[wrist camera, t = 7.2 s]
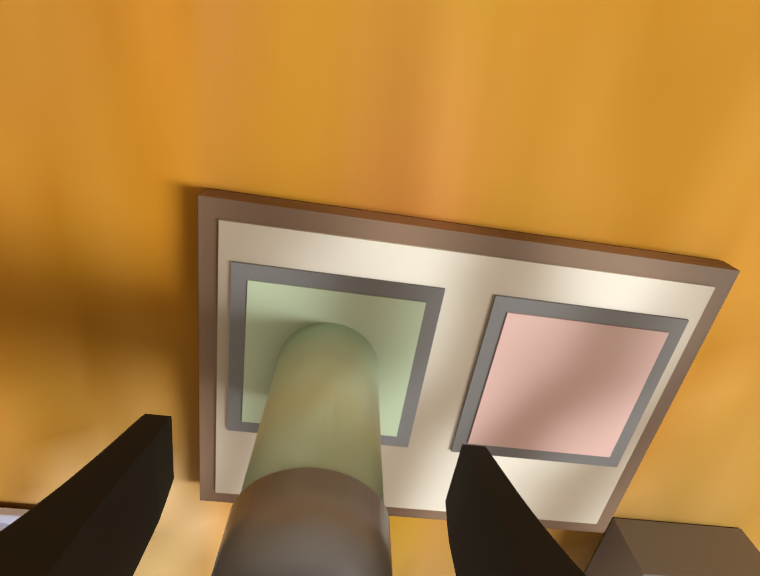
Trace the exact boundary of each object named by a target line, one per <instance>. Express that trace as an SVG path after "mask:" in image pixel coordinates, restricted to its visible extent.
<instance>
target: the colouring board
mask: <svg viewBox="0 0 760 576" xmlns="http://www.w3.org/2000/svg"><path fill="white" fill-rule="evenodd" d="M739 272H740V271H739V270H737V269H736V268H734V267H732V266H731V265H729V264H727V263H725V262H724V261H719V260H712V259H705V258H698V257H691V256H684V255H676V254H669V253H662V252H655V251H648V250H641V249H634V248H627V247H620V246H613V245H606V244H599V243H591V242H584V241H577V240H570V239H563V238H556V237H549V236H542V235H535V234H528V233H521V232H513V231H506V230H499V229H492V228H485V227H478V226H471V225H464V224H457V223H450V222H443V221H436V220H428V219H421V218H414V217H407V216H400V215H393V214H386V213H379V212H372V211H365V210H358V209H350V208H343V207H336V206H329V205H322V204H315V203H308V202H301V201H294V200H287V199H280V198H273V197H265V196H258V195H251V194H244V193H237V192H230V191H223V190H216V189H209V188H206V189H205V190H204V191H202V192H201V193H200V194H199V195H198V283H199V427H200V500H205V501H217V502H229V503H234V502H235V500H236V498H237V497H238V496H239V494H240V493H241V489H242V486H243V482H244V479H245V475H246V472H247V468H248V465H249V461H250V458H251V454H252V450H253V447H254V443H255V440H256V436H257V433H258V429H259V426H260V422H261V419H262V415H263V412H264V408H265V404H266V401H267V397H268V394H269V390H270V387H271V383H272V380H273V376H274V373H275V369H276V365H277V362H278V358H279V355H280V352H281V349H282V347H283V345H284V344H285V342H286V341H287V340H288V339H289V337H290V336H292V335H293V334H294V333H295V332H297V331H298V330H300V329H302V328H304V327H307V326H310V325H313V324H318V323H335V324H341V325H344V326H347V327H350V328H352V329H354V330H356V331H357V332H359V333H360V334H361V335H363V336H364V337H365V338H366V339H367V340H368V341H369V343H370V344H371V345H372V347H373V349H374V351H375V354H376V357H377V367H378V388H379V410H380V431H381V452H382V474H383V495H384V505H385V507H386V509H387V512H388V515H389V516H401V517H413V518H426V519H438V520H447V516H446V504H445V500H446V497H447V494H448V490H449V487H450V483H451V480H452V477H453V473H454V470H455V467H456V463H457V460H458V457H459V453H460V450H461V447H462V444H466V445H477V446H486V448H487V449H488V451H489V452H490V453H491V455H492V456H493V458H494V459H495V460H496V462H497V463H498V465H499V466H500V468H501V469H502V470H503V472H504V473H505V475H506V476H507V478H508V479H509V480H510V482H511V483H512V485H513V486H514V487H515V489H516V490H517V492H518V493H519V494H520V496H521V497H522V498H523V500H524V501H525V502H526V504H527V505H528V506H529V508H530V509H531V510H532V512H533V513H534V514H535V516H536V517H537V518H538V520H539V521H540V522H541V524H542V525H543V526H544V527H545V528H548V529H561V530H573V531H585V532H598V533H604V532H605V530H606V528H607V527H608V525H609V523H610V521H611V519H612V517H613V515H614V513H615V511H616V509H617V507H618V505H619V503H620V502H621V500H622V498H623V496H624V494H625V492H626V490H627V488H628V486H629V484H630V482H631V480H632V478H633V476H634V475H635V473H636V471H637V469H638V467H639V465H640V463H641V461H642V459H643V457H644V455H645V453H646V451H647V449H648V448H649V446H650V444H651V442H652V440H653V438H654V436H655V434H656V432H657V430H658V428H659V426H660V424H661V422H662V421H663V419H664V417H665V415H666V413H667V411H668V409H669V407H670V405H671V403H672V401H673V399H674V397H675V395H676V394H677V392H678V390H679V388H680V386H681V384H682V382H683V380H684V378H685V376H686V374H687V372H688V370H689V368H690V367H691V365H692V363H693V361H694V359H695V357H696V355H697V353H698V351H699V349H700V347H701V345H702V343H703V341H704V340H705V338H706V336H707V334H708V332H709V330H710V328H711V326H712V324H713V322H714V320H715V318H716V316H717V315H718V313H719V311H720V309H721V307H722V305H723V303H724V301H725V299H726V297H727V295H728V293H729V291H730V289H731V288H732V286H733V284H734V282H735V280H736V278H737V276H738V274H739Z"/></svg>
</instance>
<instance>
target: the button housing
mask: <svg viewBox="0 0 760 576" xmlns="http://www.w3.org/2000/svg"><path fill="white" fill-rule="evenodd" d="M584 574H585V575H586V576H760V552H759V551H758V550H757V548H756V547H755V546H754V545H753V543H752V542H751V541H750V540H749V538H748V537H747V536H746V535H745V533H744V532H743V531H742V529H738V528H726V527H714V526H702V525H691V524H679V523H667V522H655V521H643V520H632V519H620V518H613V520H612V522H611V523H610V525H609V527H608V529H607V531H606V533H605V535H604V537H603V539H602V541H601V543H600V545H599V547H598V548H597V550H596V552H595V554H594V556H593V558H592V560H591V562H590V564H589V566H588V568H587V570H586V571H585V573H584Z"/></svg>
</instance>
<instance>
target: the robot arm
mask: <svg viewBox="0 0 760 576" xmlns="http://www.w3.org/2000/svg"><path fill="white" fill-rule="evenodd" d="M173 479H174V472H173V445H172V418H171V416H163V415H152V414H144V415H143V416H142V417H140V418H139V419H138V420H137V421H136V422H135V423H134V424H132V425H131V426H130V427H129V428H128V429H127V430H126V431H125V432H124V433H122V434H121V435H120V436H119V437H118V438H117V439H116V440H115V441H113V442H112V443H111V444H110V445H109V446H108V447H107V448H105V449H104V450H103V451H102V452H101V453H100V454H99V455H97V456H96V457H95V458H94V459H93V460H92V461H90V462H89V463H88V464H87V465H86V466H84V467H83V468H82V469H81V470H80V471H78V472H77V473H76V474H75V475H74V476H72V477H71V478H70V479H69V480H68V481H66V482H65V483H64V484H63V485H61V486H60V487H59V488H57V489H56V490H55V491H54V492H52V493H51V494H50V495H48V496H47V497H46V498H45V499H43V500H42V501H41V502H39V503H38V504H37V505H35V506H34V507H33V508H32V509H30V510H28V509H15V508H2V507H0V576H133V574H134V572H135V570H136V568H137V566H138V564H139V562H140V560H141V558H142V556H143V554H144V551H145V549H146V547H147V545H148V543H149V541H150V539H151V537H152V535H153V533H154V530H155V528H156V526H157V524H158V522H159V519H160V517H161V514H162V511H163V508H164V506H165V503H166V500H167V497H168V494H169V491H170V488H171V485H172V482H173ZM445 504H446V516H447V527H448V536H449V544H450V549H451V554H452V559H453V563H454V568H455V573H456V576H586V575H585V574H584V573H583V572H582V571H581V570H580V569H579V568H578V566H577V565H576V564H575V563H574V562H573V561H572V560H571V559H570V558H569V556H568V555H567V554H566V553H565V552H564V550H563V549H562V548H561V547H560V546H559V544H558V543H557V542H556V541H555V540H554V539H553V537H552V536H551V535H550V534H549V532H548V531H547V530H546V529H545V527H544V526H543V525H542V524H541V522H540V521H539V520H538V518H537V517H536V516H535V514H534V513H533V512H532V510H531V509H530V508H529V506H528V505H527V504H526V502H525V501H524V500H523V498H522V497H521V496H520V494H519V493H518V492H517V490H516V489H515V487H514V486H513V485H512V483H511V482H510V480H509V479H508V478H507V476H506V475H505V473H504V472H503V470H502V469H501V468H500V466H499V465H498V463H497V462H496V460H495V459H494V458H493V456H492V455H491V453H490V452H489V451H488V449H487V448H486V446H477V445H466V444H462V447H461V450H460V453H459V457H458V460H457V463H456V467H455V470H454V473H453V477H452V480H451V483H450V487H449V490H448V494H447V497H446V500H445Z"/></svg>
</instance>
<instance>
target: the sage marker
mask: <svg viewBox="0 0 760 576" xmlns="http://www.w3.org/2000/svg"><path fill="white" fill-rule="evenodd" d="M211 576H392V559H391V542H390V524H389V516H388V512H387V509H386V507H385V505H384V495H383V474H382V452H381V431H380V410H379V388H378V367H377V357H376V354H375V351H374V349H373V347H372V345H371V344H370V343H369V341H368V340H367V339H366V338H365V337H364V336H363V335H361V334H360V333H359V332H357V331H356V330H354V329H352V328H350V327H347V326H344V325H341V324H335V323H318V324H313V325H310V326H307V327H304V328H302V329H300V330H298V331H297V332H295V333H294V334H293V335H292V336H290V337H289V339H288V340H287V341H286V342H285V344H284V345H283V347H282V349H281V352H280V355H279V358H278V362H277V365H276V369H275V373H274V376H273V380H272V383H271V387H270V390H269V394H268V397H267V401H266V404H265V408H264V412H263V415H262V419H261V422H260V426H259V429H258V433H257V436H256V440H255V443H254V447H253V450H252V454H251V458H250V461H249V465H248V468H247V472H246V475H245V479H244V482H243V486H242V489H241V493H240V494H239V496H238V497H237V498H236V500H235V502H234V503H233V505H232V508H231V511H230V514H229V517H228V521H227V524H226V528H225V531H224V534H223V538H222V541H221V545H220V548H219V552H218V555H217V558H216V562H215V565H214V569H213V572H212V575H211Z"/></svg>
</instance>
